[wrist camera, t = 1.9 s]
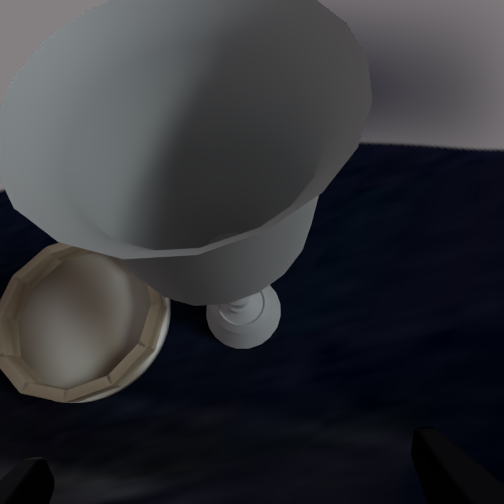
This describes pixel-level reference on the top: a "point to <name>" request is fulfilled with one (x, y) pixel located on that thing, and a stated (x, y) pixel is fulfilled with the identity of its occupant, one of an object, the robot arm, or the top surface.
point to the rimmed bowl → (79, 325)
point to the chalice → (188, 143)
